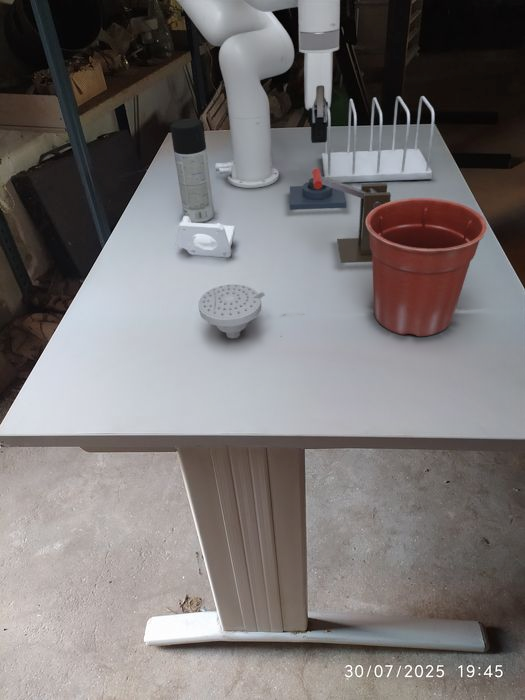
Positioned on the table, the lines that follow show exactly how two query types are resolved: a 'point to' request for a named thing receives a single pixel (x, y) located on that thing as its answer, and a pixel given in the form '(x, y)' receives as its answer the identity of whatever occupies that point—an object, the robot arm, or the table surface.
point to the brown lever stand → (363, 226)
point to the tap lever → (337, 185)
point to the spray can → (192, 169)
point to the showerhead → (230, 307)
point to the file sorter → (378, 154)
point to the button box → (315, 198)
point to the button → (311, 185)
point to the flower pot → (421, 261)
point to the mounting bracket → (205, 238)
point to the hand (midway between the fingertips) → (319, 141)
